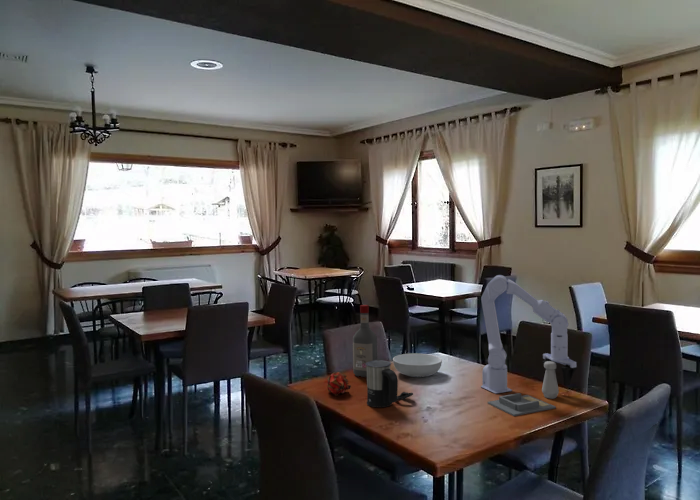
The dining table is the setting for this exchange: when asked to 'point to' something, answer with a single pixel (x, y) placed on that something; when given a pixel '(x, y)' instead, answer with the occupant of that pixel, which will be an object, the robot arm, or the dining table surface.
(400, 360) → the serving bowl
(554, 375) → the salt shaker
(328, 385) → the dragon fruit
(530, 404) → the stand
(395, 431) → the dining table surface
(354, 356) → the liquor
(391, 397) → the milk frother
